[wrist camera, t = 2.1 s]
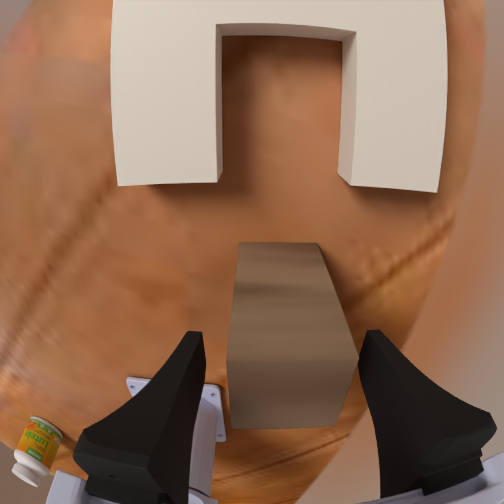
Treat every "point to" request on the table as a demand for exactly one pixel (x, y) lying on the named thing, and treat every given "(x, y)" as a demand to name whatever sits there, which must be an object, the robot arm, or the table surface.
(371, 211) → the table surface
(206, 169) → the socket block
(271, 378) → the peg
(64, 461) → the table surface
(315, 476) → the table surface
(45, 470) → the supplement bottle
